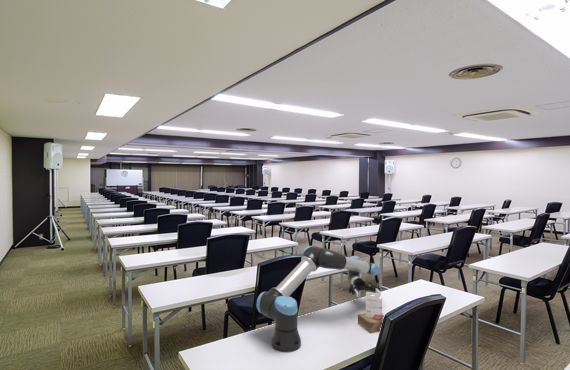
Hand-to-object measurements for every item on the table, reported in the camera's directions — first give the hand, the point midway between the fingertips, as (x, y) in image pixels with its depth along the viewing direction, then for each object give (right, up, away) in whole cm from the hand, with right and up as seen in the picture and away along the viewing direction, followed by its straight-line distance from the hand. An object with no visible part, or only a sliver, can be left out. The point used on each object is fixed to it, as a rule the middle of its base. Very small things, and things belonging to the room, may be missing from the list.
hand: (369, 294), depth 194 cm
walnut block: (+1, -16, -8) cm, 18 cm away
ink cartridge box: (+1, -11, -8) cm, 13 cm away
